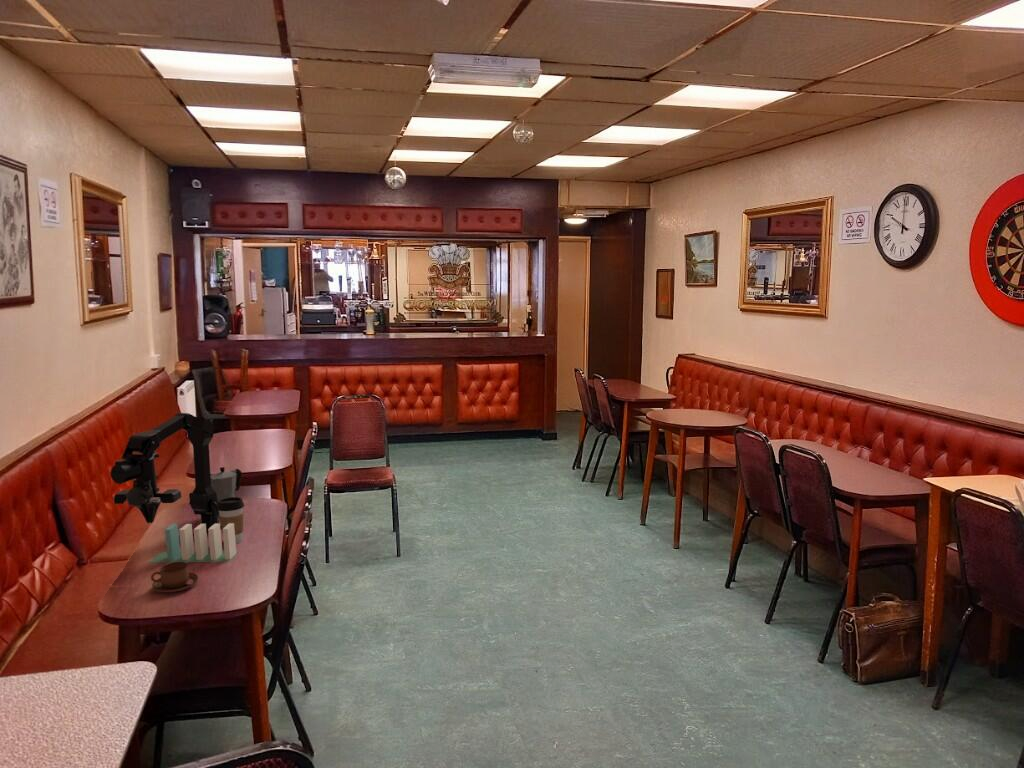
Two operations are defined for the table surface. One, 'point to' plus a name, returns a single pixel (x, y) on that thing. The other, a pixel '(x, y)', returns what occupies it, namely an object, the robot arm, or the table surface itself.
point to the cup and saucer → (173, 578)
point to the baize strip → (164, 558)
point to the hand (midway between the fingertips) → (150, 522)
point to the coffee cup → (232, 515)
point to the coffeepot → (226, 483)
